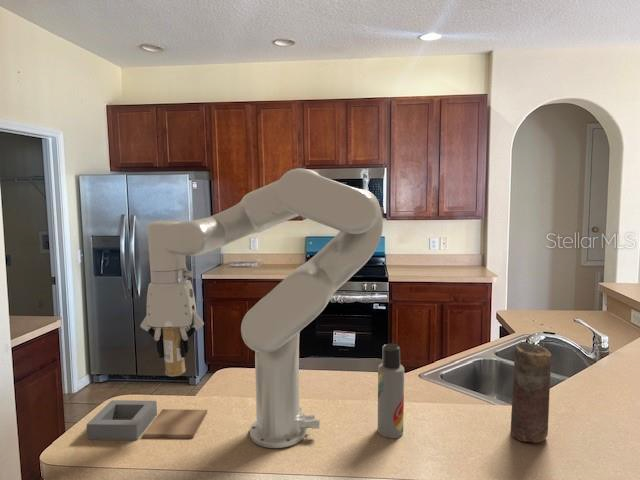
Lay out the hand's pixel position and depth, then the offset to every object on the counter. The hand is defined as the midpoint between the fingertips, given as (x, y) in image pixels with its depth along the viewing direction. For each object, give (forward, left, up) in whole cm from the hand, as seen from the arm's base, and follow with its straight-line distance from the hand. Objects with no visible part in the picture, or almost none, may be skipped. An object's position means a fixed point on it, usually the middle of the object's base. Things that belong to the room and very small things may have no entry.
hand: (174, 354), depth 102 cm
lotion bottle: (-49, +2, -17) cm, 52 cm away
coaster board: (0, 0, -17) cm, 17 cm away
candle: (-79, +3, -17) cm, 81 cm away
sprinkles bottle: (0, 0, -5) cm, 5 cm away
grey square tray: (+12, +1, -17) cm, 21 cm away
